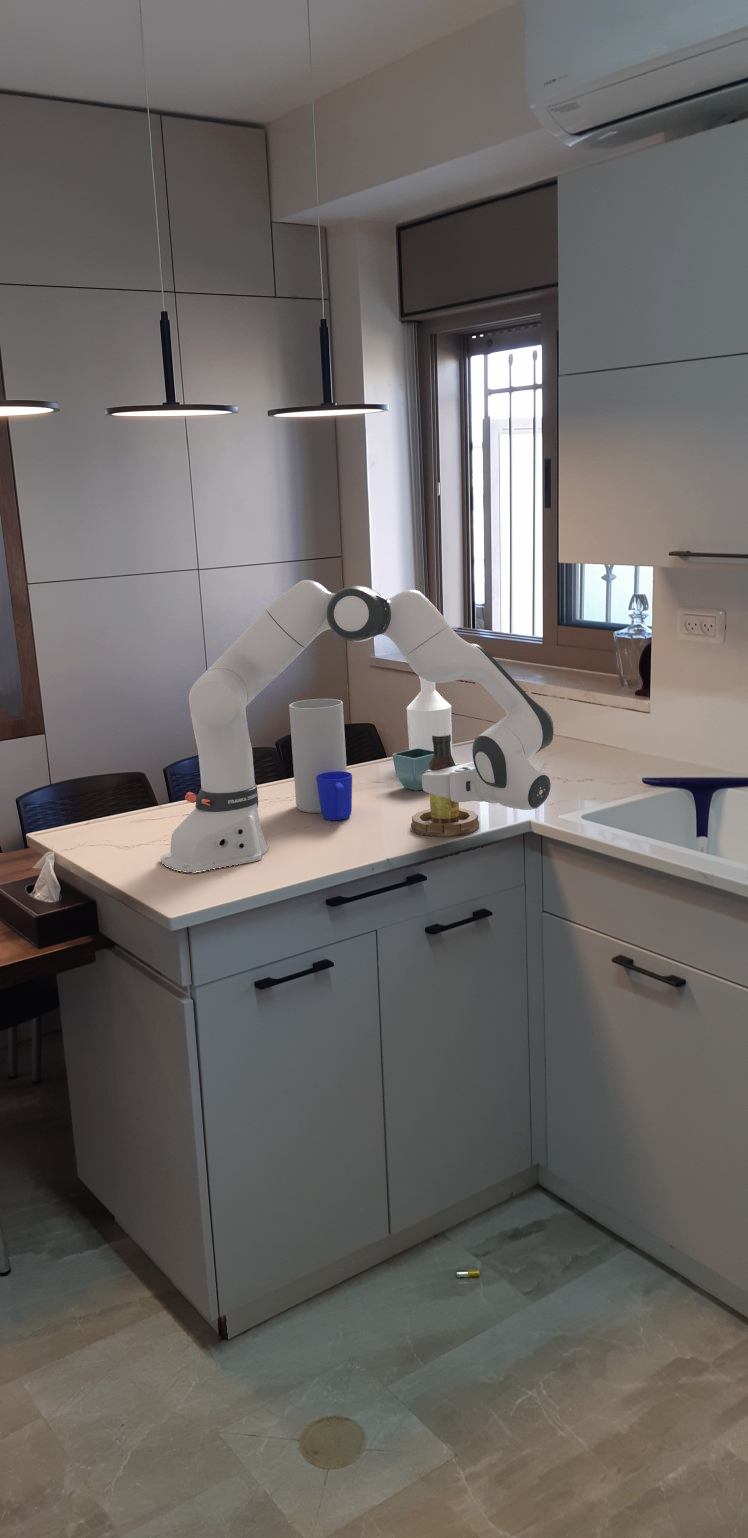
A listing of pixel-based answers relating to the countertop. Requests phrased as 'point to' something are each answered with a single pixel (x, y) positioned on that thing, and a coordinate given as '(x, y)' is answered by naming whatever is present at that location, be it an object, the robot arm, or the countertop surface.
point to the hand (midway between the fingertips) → (440, 770)
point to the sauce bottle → (440, 806)
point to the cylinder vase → (316, 746)
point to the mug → (335, 794)
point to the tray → (427, 828)
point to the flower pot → (412, 766)
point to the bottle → (428, 717)
